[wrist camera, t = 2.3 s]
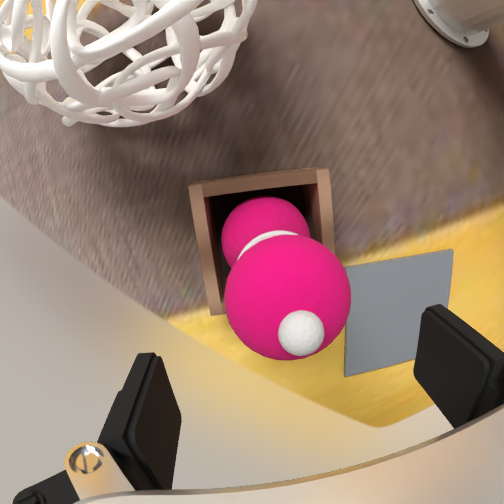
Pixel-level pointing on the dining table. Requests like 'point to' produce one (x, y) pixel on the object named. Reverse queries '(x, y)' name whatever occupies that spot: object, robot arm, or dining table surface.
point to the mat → (392, 307)
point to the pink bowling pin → (281, 281)
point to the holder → (201, 191)
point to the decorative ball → (110, 44)
